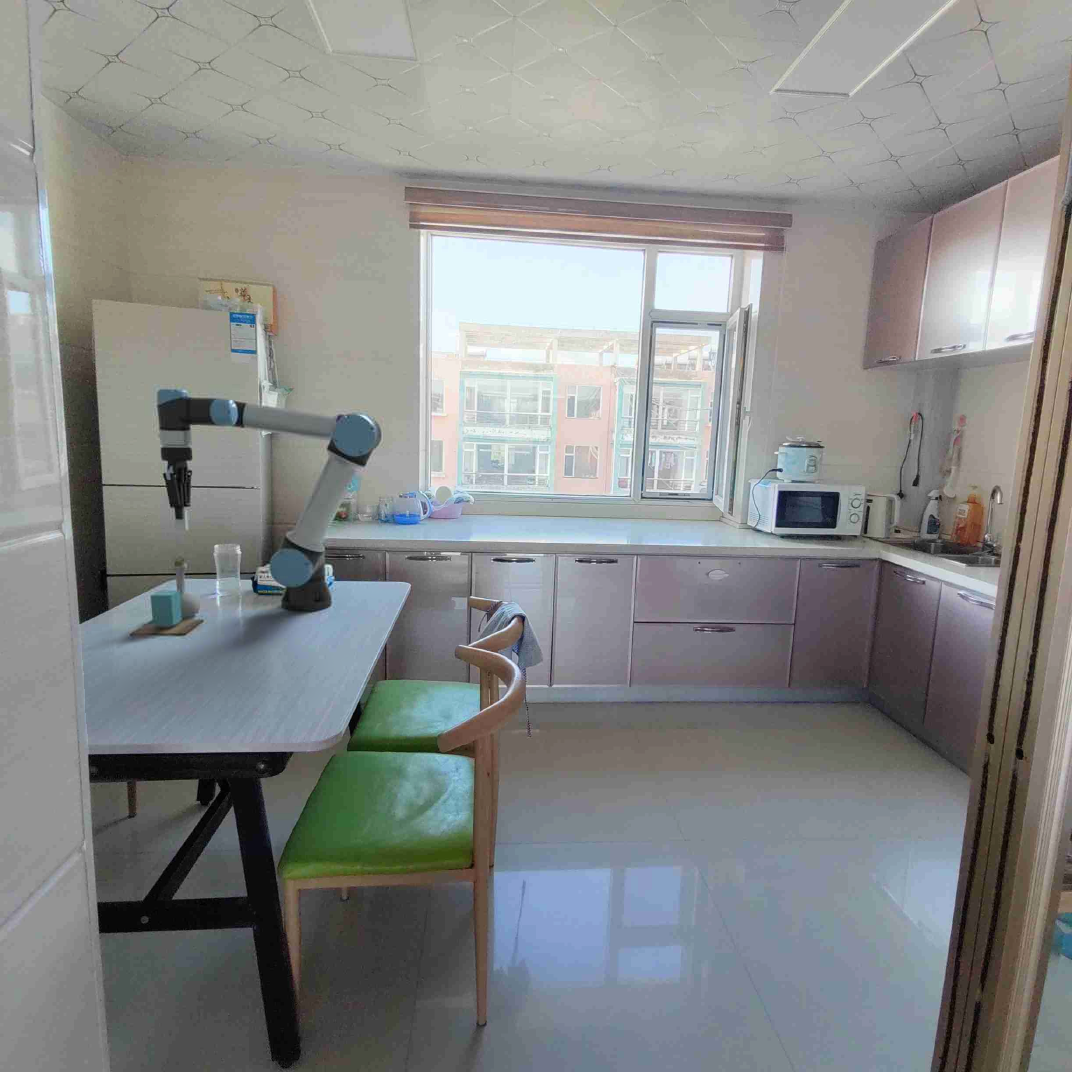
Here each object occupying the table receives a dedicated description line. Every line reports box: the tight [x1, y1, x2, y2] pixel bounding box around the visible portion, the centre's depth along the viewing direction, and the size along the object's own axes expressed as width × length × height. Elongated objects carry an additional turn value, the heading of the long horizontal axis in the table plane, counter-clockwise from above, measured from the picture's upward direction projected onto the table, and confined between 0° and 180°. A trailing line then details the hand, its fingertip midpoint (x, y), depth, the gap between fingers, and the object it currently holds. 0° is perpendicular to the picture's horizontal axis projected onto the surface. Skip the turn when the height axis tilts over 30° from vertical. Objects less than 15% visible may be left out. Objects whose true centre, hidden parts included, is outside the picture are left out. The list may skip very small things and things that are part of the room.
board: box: [129, 618, 205, 637], centre depth 170 cm, size 14×12×1 cm
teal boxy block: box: [150, 589, 182, 626], centre depth 170 cm, size 5×5×9 cm
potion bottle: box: [171, 556, 201, 620], centre depth 179 cm, size 9×9×18 cm
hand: (182, 530), depth 174 cm, fingers closed
